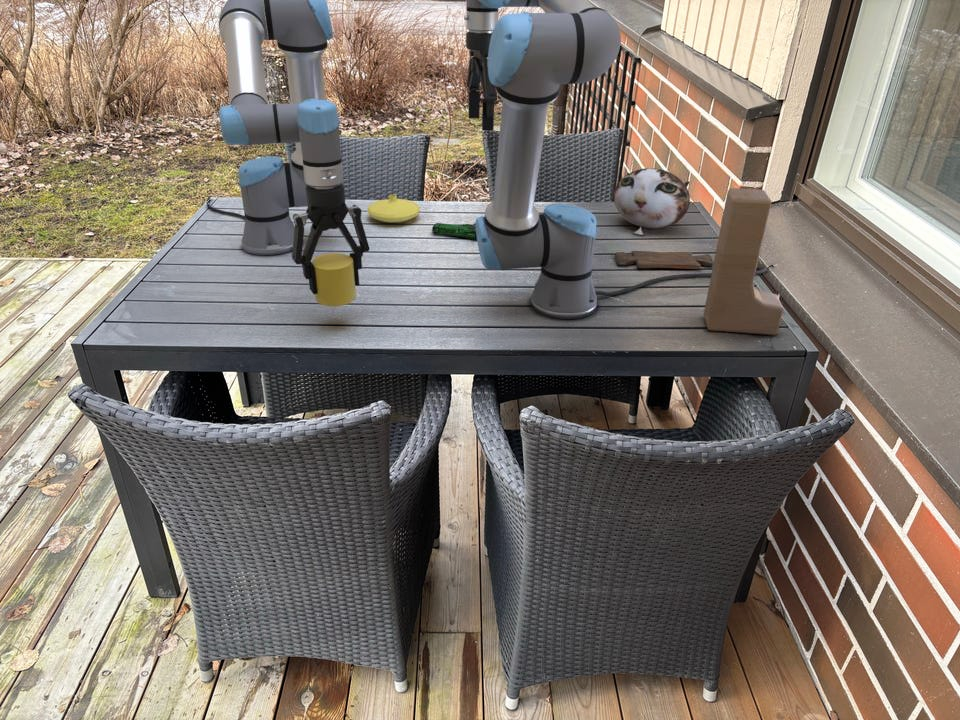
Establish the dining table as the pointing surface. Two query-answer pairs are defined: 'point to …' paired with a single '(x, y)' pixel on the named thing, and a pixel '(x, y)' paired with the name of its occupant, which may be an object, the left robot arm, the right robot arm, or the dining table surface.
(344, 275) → the canister
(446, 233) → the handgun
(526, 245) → the right robot arm
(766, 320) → the decorative block
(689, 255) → the wooden paddle board
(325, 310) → the dining table surface
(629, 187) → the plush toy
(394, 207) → the yellow pot lid
